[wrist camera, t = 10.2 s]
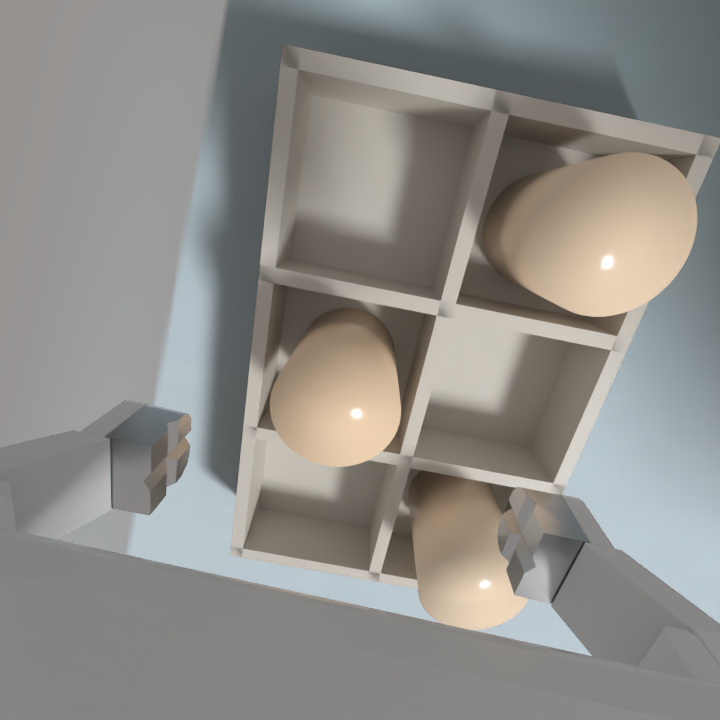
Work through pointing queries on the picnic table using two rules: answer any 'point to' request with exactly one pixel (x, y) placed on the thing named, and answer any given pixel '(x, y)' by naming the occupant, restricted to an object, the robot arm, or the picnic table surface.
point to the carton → (420, 300)
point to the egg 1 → (339, 390)
